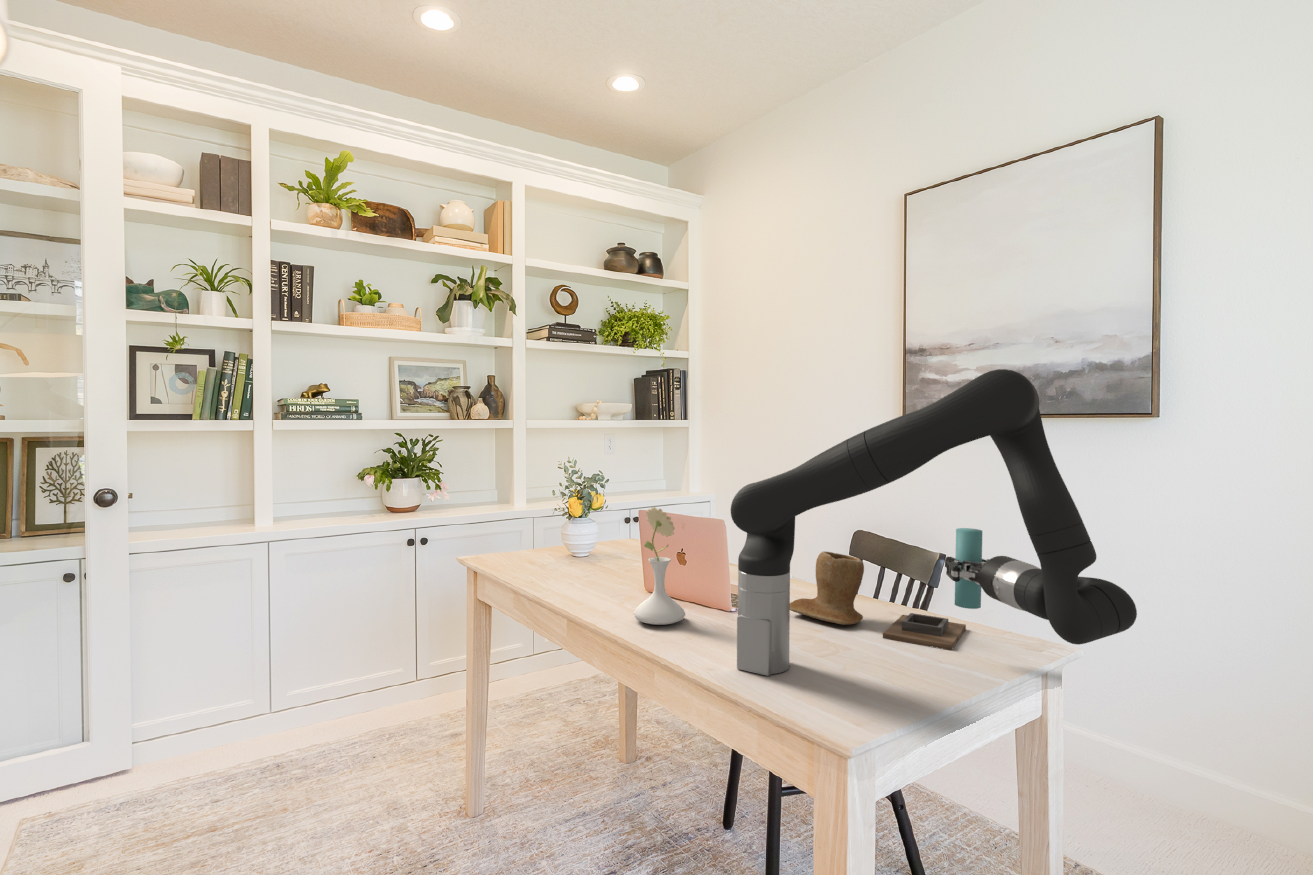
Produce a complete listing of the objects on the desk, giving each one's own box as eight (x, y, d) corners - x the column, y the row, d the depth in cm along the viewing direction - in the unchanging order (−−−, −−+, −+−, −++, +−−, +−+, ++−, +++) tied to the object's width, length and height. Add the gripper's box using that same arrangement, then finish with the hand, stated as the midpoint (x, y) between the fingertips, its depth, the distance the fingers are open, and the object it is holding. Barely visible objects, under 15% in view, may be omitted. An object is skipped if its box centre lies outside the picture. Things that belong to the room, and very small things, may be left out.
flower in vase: (693, 625, 143) (694, 510, 143) (644, 631, 139) (644, 512, 139) (670, 610, 155) (670, 503, 155) (624, 615, 151) (624, 505, 151)
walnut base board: (951, 650, 128) (951, 635, 128) (882, 637, 136) (882, 624, 135) (965, 629, 142) (965, 616, 141) (902, 618, 149) (902, 606, 149)
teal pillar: (978, 610, 120) (980, 532, 119) (952, 606, 122) (954, 530, 122) (982, 604, 123) (984, 529, 123) (956, 600, 126) (958, 527, 126)
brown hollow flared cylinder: (875, 621, 147) (875, 554, 147) (843, 632, 139) (844, 561, 139) (817, 607, 159) (818, 544, 158) (786, 616, 151) (786, 550, 151)
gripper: (1058, 560, 109) (996, 541, 126) (975, 561, 108) (924, 542, 125) (1057, 605, 109) (995, 581, 126) (974, 607, 108) (923, 582, 125)
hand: (960, 561), depth 125 cm, fingers closed on teal pillar, 4 cm apart
